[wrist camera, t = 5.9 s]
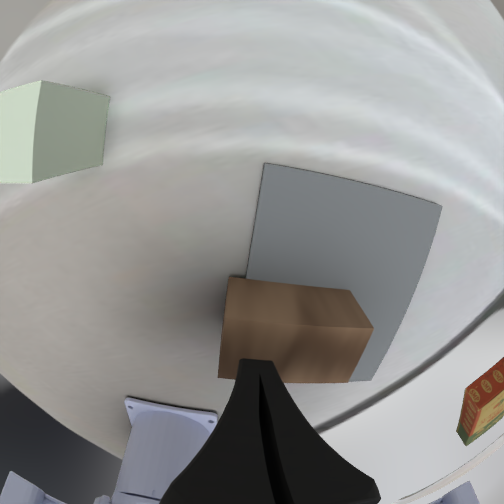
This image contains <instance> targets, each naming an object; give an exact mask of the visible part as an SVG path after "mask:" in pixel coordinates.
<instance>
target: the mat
mask: <svg viewBox="0 0 504 504" xmlns="http://www.w3.org/2000/svg"><path fill="white" fill-rule="evenodd" d="M441 210H442V206H441V205H438V204H435V203H432V202H429V201H426V200H423V199H420V198H416V197H413V196H410V195H406V194H403V193H399V192H396V191H392V190H389V189H385V188H381V187H377V186H374V185H370V184H366V183H362V182H358V181H353V180H349V179H345V178H341V177H336V176H332V175H327V174H322V173H317V172H313V171H307V170H302V169H297V168H292V167H286V166H280V165H274V164H268V163H264V168H263V174H262V180H261V186H260V192H259V198H258V204H257V211H256V217H255V223H254V229H253V235H252V241H251V247H250V254H249V260H248V266H247V272H246V278H245V279H252V280H261V281H269V282H278V283H287V284H296V285H305V286H315V287H324V288H334V289H345V290H350V291H351V293H352V294H353V296H354V297H355V299H356V301H357V302H358V304H359V305H360V307H361V308H362V310H363V311H364V313H365V315H366V316H367V318H368V319H369V321H370V322H371V324H372V326H373V327H374V330H373V332H372V335H371V337H370V339H369V341H368V343H367V345H366V348H365V350H364V352H363V354H362V356H361V358H360V360H359V362H358V364H357V366H356V368H355V370H354V372H353V374H352V376H351V377H350V379H349V381H348V382H353V381H371V379H372V378H373V376H374V374H375V373H376V371H377V369H378V367H379V365H380V364H381V362H382V360H383V358H384V356H385V354H386V352H387V350H388V349H389V347H390V345H391V343H392V341H393V339H394V337H395V335H396V332H397V330H398V328H399V326H400V324H401V322H402V320H403V318H404V315H405V313H406V311H407V309H408V306H409V304H410V302H411V299H412V297H413V294H414V292H415V289H416V287H417V284H418V282H419V279H420V276H421V274H422V271H423V268H424V266H425V263H426V260H427V257H428V254H429V251H430V248H431V245H432V242H433V238H434V235H435V232H436V228H437V225H438V221H439V218H440V214H441Z"/></svg>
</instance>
